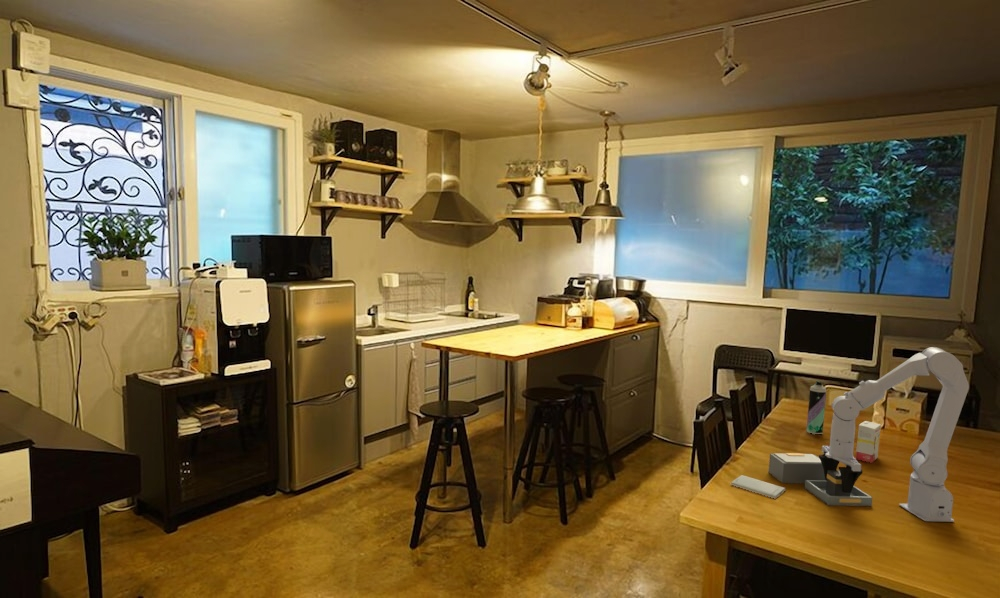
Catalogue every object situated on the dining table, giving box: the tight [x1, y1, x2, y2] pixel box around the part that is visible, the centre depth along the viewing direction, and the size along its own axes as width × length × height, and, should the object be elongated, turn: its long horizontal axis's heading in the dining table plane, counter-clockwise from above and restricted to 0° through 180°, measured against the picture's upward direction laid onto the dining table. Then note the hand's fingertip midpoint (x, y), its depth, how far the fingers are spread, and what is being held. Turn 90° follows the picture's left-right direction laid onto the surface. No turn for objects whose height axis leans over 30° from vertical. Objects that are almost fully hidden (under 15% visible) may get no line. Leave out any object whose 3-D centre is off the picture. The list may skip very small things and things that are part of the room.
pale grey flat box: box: [768, 452, 825, 484], centre depth 174 cm, size 8×14×6 cm, turn 92°
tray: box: [804, 480, 873, 507], centre depth 162 cm, size 11×12×2 cm
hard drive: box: [730, 474, 786, 500], centre depth 166 cm, size 2×8×12 cm
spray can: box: [806, 380, 827, 435], centre depth 220 cm, size 6×6×20 cm
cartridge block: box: [826, 469, 851, 496], centre depth 161 cm, size 4×5×6 cm
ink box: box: [855, 420, 882, 464], centre depth 193 cm, size 9×5×12 cm, turn 134°
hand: (837, 486), depth 161 cm, fingers open, 7 cm apart
